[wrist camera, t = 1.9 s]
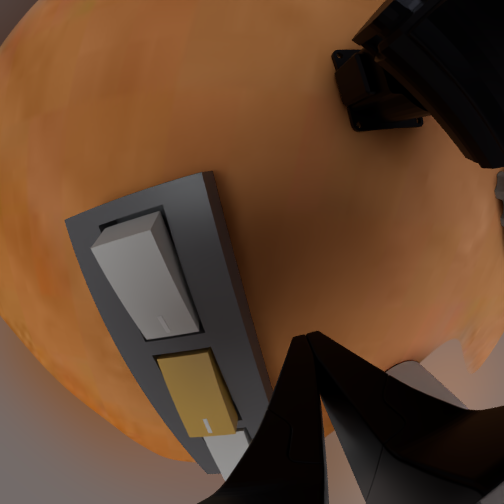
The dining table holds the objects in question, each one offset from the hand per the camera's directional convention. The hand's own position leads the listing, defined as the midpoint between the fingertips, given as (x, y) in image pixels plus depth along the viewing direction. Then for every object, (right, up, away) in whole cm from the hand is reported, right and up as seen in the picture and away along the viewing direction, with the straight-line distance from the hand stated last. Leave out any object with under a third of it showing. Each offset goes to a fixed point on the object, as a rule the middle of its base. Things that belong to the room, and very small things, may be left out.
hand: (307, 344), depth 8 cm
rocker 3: (-3, -15, +13) cm, 20 cm away
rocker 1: (-8, +2, +7) cm, 11 cm away
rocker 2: (-5, -7, +10) cm, 14 cm away
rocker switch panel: (-6, -6, +14) cm, 16 cm away
